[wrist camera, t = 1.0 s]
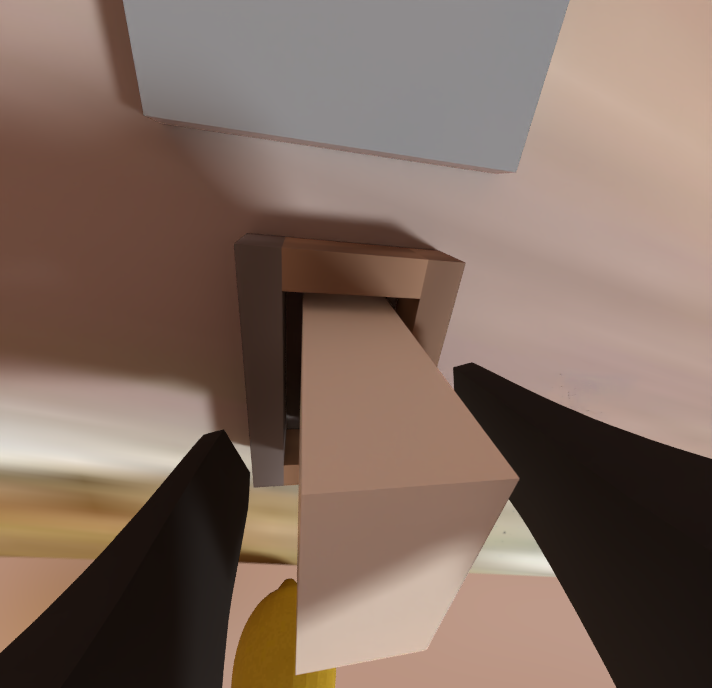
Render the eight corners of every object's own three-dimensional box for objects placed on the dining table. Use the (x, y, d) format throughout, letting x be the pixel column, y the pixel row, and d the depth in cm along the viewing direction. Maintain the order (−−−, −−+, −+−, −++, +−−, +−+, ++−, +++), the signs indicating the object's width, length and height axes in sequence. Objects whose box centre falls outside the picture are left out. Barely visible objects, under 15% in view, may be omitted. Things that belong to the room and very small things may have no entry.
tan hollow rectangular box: (438, 250, 10) (465, 262, 9) (394, 443, 15) (406, 476, 13) (247, 233, 9) (233, 243, 8) (260, 449, 14) (253, 487, 12)
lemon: (244, 603, 20) (212, 824, 13) (247, 559, 18) (210, 800, 11) (323, 595, 21) (333, 793, 14) (336, 553, 19) (355, 766, 12)
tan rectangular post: (383, 295, 11) (519, 479, 4) (364, 416, 14) (426, 650, 7) (303, 290, 10) (302, 495, 3) (299, 418, 13) (295, 674, 6)
